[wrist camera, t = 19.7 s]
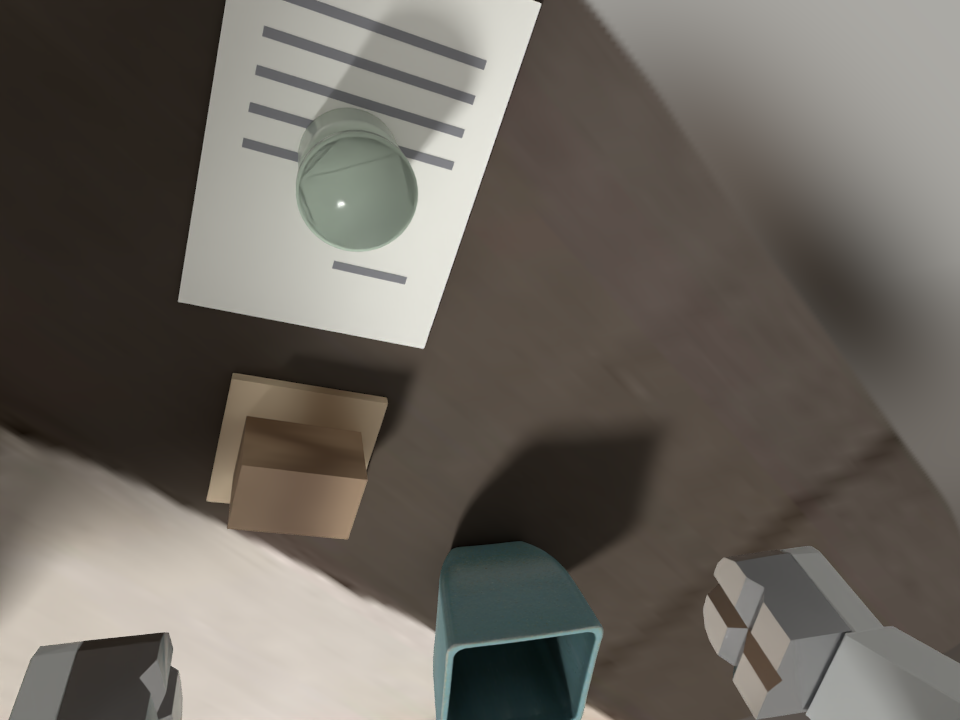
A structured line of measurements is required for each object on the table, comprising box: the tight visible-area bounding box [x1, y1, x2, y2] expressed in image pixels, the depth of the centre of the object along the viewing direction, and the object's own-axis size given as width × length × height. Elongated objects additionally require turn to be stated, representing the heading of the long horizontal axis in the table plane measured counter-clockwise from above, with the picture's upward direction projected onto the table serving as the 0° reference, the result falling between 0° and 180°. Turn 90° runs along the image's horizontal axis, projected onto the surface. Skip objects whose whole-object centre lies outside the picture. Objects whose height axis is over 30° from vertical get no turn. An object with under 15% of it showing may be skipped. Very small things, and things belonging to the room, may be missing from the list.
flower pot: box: [433, 541, 603, 720], centre depth 43 cm, size 9×9×9 cm
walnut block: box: [227, 416, 367, 539], centre depth 36 cm, size 6×4×4 cm, turn 70°
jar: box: [296, 108, 418, 252], centre depth 29 cm, size 5×5×5 cm
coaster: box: [207, 373, 388, 504], centre depth 38 cm, size 8×8×1 cm
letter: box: [178, 0, 541, 349], centre depth 31 cm, size 12×17×1 cm
